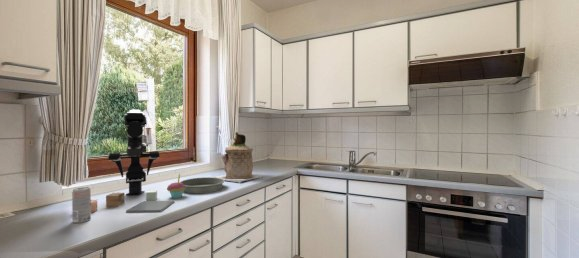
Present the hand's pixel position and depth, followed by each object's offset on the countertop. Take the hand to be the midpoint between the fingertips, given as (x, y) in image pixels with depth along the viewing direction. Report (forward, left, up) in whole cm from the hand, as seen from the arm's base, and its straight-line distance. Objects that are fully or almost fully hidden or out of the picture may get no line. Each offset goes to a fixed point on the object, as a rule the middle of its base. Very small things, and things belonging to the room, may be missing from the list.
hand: (135, 176), depth 112 cm
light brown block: (+3, -18, -14) cm, 23 cm away
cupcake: (-19, +10, -14) cm, 26 cm away
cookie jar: (-65, +34, -14) cm, 75 cm away
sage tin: (-14, 0, -14) cm, 20 cm away
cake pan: (-36, +18, -14) cm, 43 cm away
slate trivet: (-2, +6, -14) cm, 15 cm away
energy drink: (+14, -12, -14) cm, 23 cm away
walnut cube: (-6, -12, -14) cm, 19 cm away
